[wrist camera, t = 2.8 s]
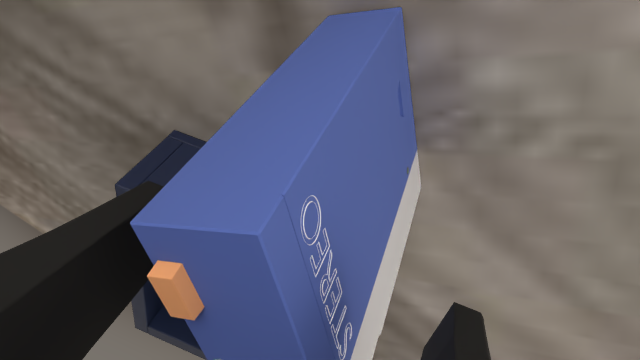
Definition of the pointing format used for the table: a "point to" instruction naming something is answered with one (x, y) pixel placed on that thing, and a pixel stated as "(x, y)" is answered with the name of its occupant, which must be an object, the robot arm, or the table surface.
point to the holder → (147, 302)
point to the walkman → (296, 204)
